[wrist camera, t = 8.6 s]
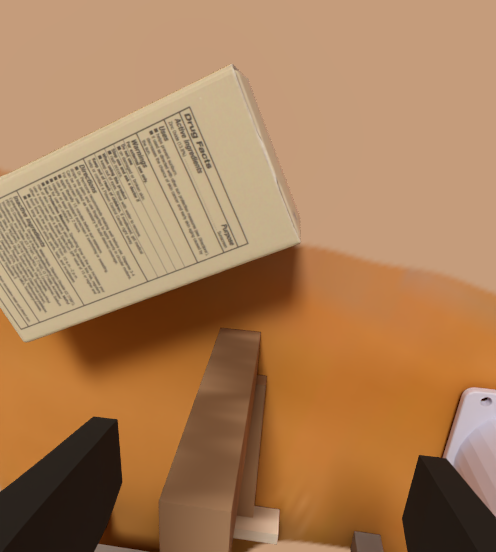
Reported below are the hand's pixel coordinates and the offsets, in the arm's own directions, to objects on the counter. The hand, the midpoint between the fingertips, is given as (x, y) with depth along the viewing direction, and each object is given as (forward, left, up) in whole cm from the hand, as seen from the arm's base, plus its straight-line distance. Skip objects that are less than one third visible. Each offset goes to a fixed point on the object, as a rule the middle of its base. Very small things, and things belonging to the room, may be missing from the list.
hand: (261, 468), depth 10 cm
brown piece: (+2, +8, -10) cm, 13 cm away
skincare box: (+12, -1, -8) cm, 14 cm away
